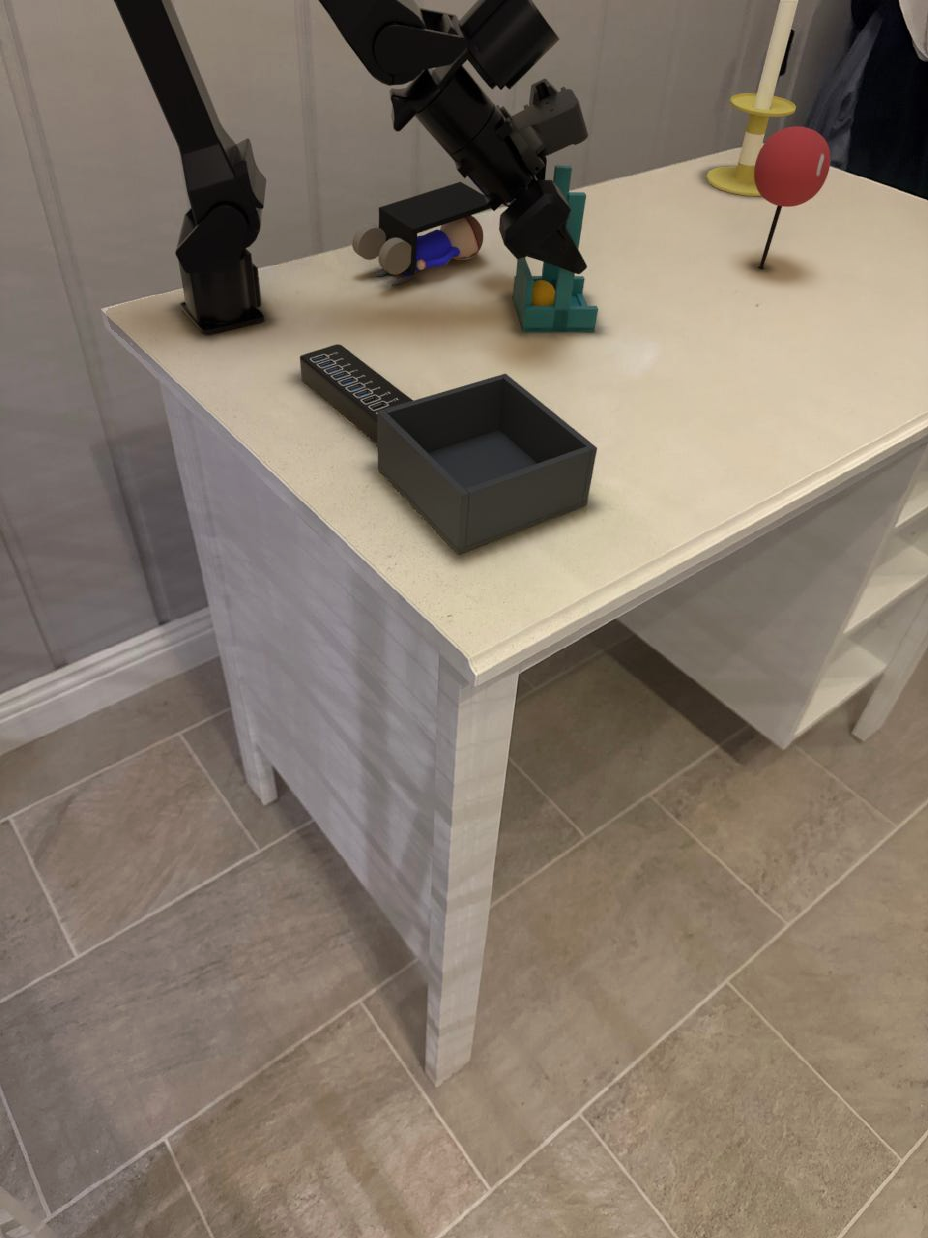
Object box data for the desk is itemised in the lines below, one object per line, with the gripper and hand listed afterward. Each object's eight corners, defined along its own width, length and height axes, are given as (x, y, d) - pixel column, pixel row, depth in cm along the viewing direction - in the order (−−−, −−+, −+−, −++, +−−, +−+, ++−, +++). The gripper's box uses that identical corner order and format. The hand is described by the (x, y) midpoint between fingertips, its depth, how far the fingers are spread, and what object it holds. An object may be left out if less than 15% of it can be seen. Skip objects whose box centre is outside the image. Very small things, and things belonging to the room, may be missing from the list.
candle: (766, 201, 121) (836, -47, 102) (695, 183, 125) (749, -61, 106) (788, 179, 128) (857, -59, 109) (720, 163, 131) (775, -71, 112)
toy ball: (537, 319, 94) (537, 291, 92) (520, 308, 96) (519, 280, 93) (561, 309, 95) (561, 281, 93) (543, 299, 97) (543, 271, 94)
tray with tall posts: (522, 332, 93) (537, 194, 83) (512, 298, 98) (525, 164, 88) (594, 331, 94) (617, 195, 84) (580, 298, 99) (600, 165, 89)
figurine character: (392, 310, 97) (497, 260, 103) (385, 241, 92) (497, 193, 98) (355, 286, 101) (459, 239, 107) (346, 218, 95) (456, 173, 101)
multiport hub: (340, 364, 86) (339, 342, 85) (432, 438, 79) (433, 415, 77) (299, 378, 84) (297, 355, 83) (390, 455, 76) (390, 431, 75)
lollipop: (723, 274, 105) (760, 132, 94) (735, 248, 110) (771, 111, 99) (790, 288, 103) (836, 146, 93) (799, 262, 108) (843, 124, 98)
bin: (458, 555, 68) (462, 495, 64) (377, 469, 75) (376, 410, 71) (586, 505, 73) (597, 447, 69) (500, 429, 80) (505, 372, 76)
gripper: (560, 90, 72) (666, 232, 81) (522, 28, 85) (618, 157, 94) (455, 193, 77) (567, 316, 86) (435, 119, 90) (534, 233, 99)
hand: (574, 250), depth 91 cm, fingers open, 8 cm apart
